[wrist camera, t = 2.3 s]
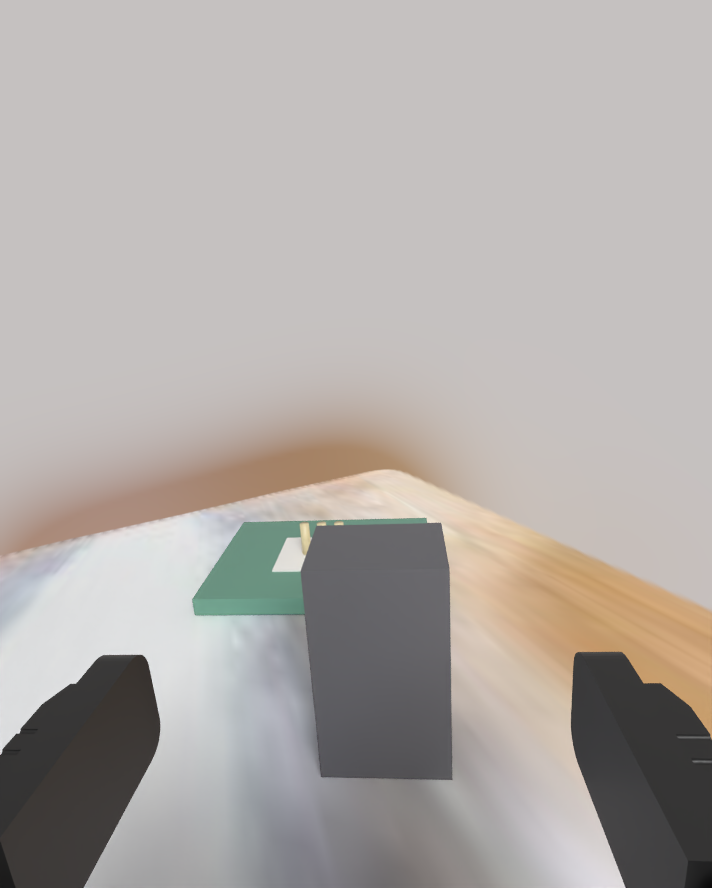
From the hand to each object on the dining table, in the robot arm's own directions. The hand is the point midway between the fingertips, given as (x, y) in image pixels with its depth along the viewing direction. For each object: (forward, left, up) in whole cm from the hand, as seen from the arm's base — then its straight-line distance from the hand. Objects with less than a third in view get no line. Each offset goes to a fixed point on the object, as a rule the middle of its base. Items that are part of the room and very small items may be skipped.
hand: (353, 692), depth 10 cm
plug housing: (-3, +11, -13) cm, 17 cm away
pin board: (-12, +25, -13) cm, 31 cm away
